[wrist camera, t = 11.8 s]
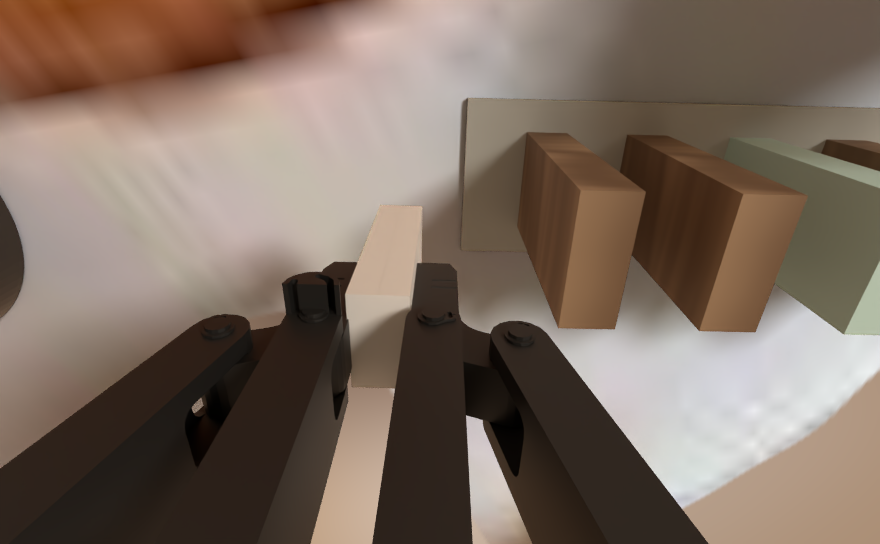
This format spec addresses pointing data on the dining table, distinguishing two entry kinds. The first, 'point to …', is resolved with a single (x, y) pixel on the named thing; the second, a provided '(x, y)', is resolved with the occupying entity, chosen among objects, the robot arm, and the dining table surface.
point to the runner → (617, 144)
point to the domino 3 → (854, 152)
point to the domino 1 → (577, 228)
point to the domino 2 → (709, 230)
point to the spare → (825, 231)
